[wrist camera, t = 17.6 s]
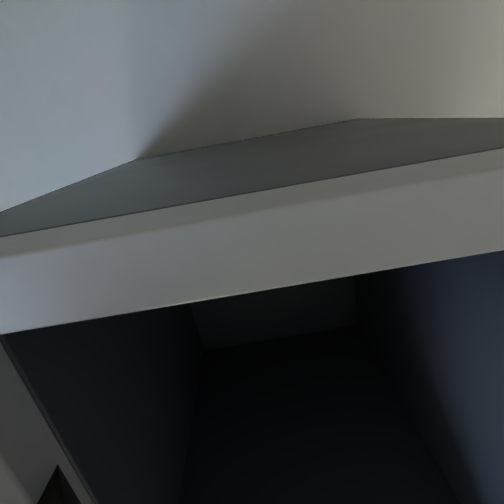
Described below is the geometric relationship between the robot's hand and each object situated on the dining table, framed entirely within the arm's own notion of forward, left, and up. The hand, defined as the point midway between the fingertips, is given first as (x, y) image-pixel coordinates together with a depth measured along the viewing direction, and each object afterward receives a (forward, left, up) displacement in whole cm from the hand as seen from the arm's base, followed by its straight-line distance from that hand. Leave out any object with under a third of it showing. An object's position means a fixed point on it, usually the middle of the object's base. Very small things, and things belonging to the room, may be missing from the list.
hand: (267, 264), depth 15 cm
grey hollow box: (+5, -5, +4) cm, 8 cm away
